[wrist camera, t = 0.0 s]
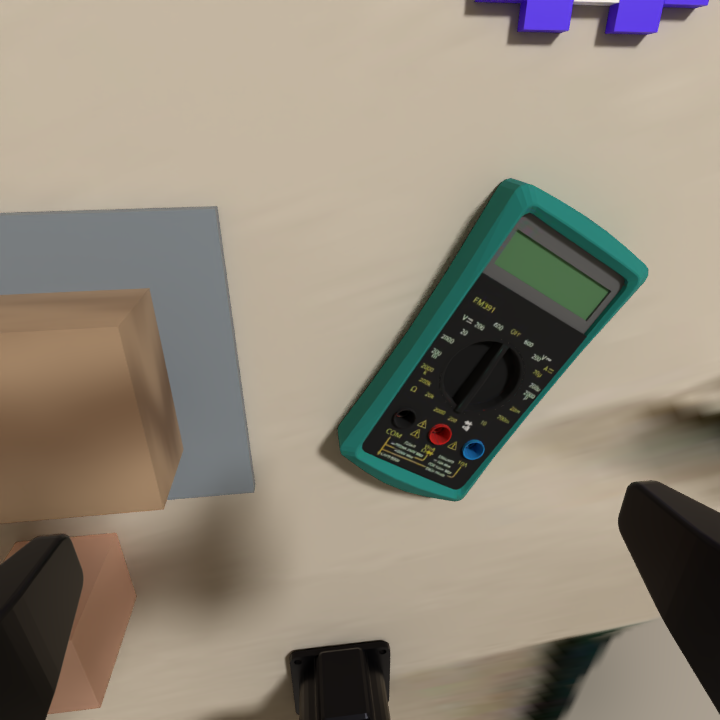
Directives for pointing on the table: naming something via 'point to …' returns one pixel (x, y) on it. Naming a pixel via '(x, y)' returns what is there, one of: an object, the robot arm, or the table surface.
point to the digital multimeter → (489, 343)
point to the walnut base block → (84, 406)
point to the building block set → (627, 5)
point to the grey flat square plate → (172, 311)
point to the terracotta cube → (94, 623)
